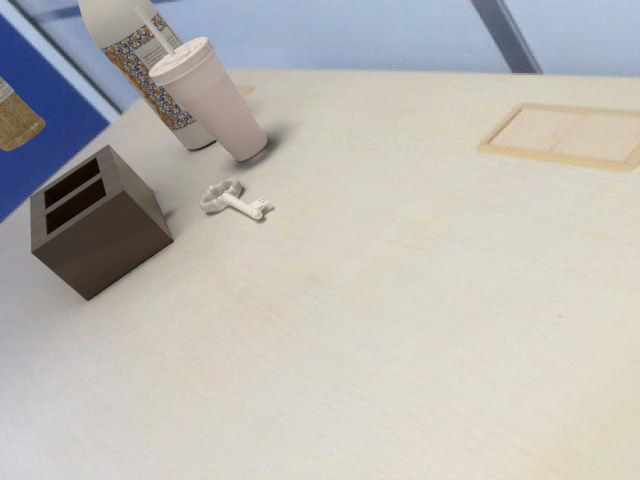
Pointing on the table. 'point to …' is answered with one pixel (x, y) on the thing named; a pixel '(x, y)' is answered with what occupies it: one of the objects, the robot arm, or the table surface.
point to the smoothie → (207, 93)
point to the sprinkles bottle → (16, 119)
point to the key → (230, 199)
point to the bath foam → (141, 58)
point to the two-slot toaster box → (96, 223)
